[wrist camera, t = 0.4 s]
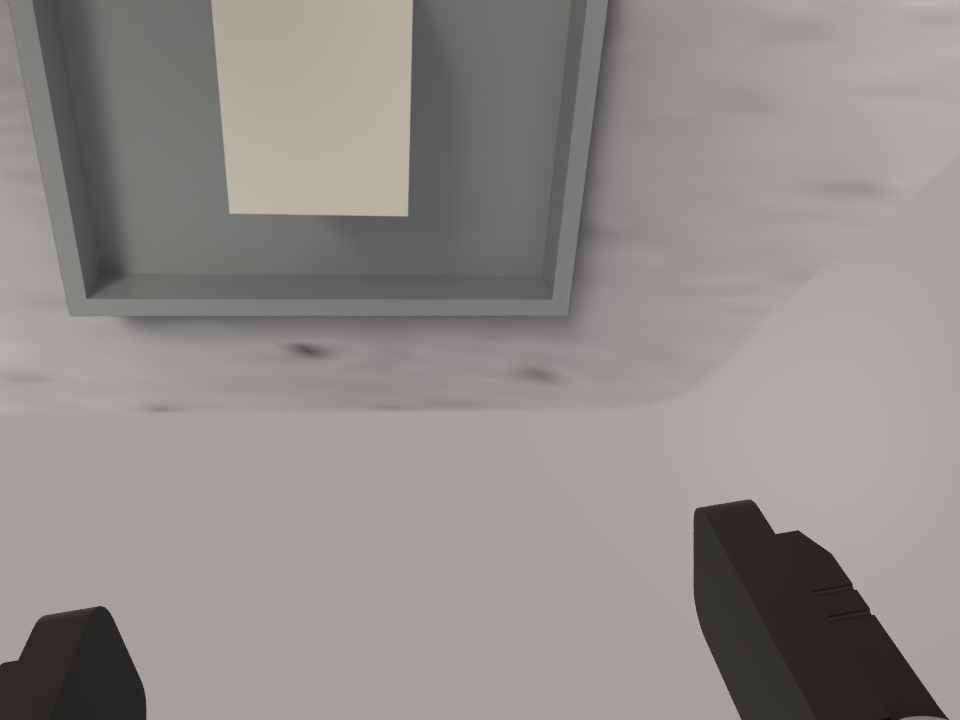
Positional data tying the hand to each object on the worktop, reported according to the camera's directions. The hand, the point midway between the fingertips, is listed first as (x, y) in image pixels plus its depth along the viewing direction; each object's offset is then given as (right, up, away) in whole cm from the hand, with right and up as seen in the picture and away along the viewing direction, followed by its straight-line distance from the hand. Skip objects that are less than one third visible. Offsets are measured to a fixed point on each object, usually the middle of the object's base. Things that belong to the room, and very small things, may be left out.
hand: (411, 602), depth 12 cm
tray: (-4, +13, +14) cm, 20 cm away
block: (-4, +13, +14) cm, 19 cm away
